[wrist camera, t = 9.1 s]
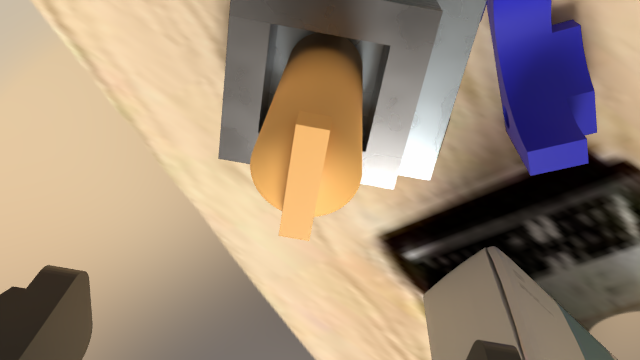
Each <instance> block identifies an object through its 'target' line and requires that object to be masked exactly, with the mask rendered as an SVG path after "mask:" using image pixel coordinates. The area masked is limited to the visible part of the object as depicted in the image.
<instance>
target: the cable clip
mask: <svg viewBox="0 0 640 360" xmlns="http://www.w3.org/2000/svg"><path fill="white" fill-rule="evenodd" d="M487 10H488V16H489V23H490V29H491V36H492V42H493V49H494V55H495V62H496V68H497V75H498V81H499V88H500V94H501V101H502V107H503V114H504V120H505V127H506V132H507V133H508V135H509V137H510V139H511V141H512V143H513V144H514V146H515V148H516V150H517V152H518V154H519V155H520V157H521V159H522V161H523V163H524V165H525V166H526V168H527V170H528V172H529V174H530V176H532V175H537V174H541V173H546V172H550V171H555V170H560V169H564V168H569V167H573V166H578V165H582V164H587V163H588V150H587V139H586V137H585V136H584V135H588V134H593V133H597V124H596V108H595V92H594V88H593V85H592V82H591V79H590V75H589V72H588V68H587V64H586V59H585V54H584V49H583V42H582V34H581V25H580V24H578V23H577V22H575V21H574V20H569V21H565V22H562V23H558V24H554V25H552V23H551V0H487Z"/></svg>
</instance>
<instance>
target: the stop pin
mask: <svg viewBox="0 0 640 360" xmlns="http://www.w3.org/2000/svg"><path fill="white" fill-rule="evenodd" d="M362 91H363V66H362V60H361V56H360V54H359V52H358V50H357V48H356V47H355V46H354V45H353V43H352V42H350V41H349V40H348V39H347V38H345V37H341V36H335V35H330V34H324V33H319V32H316V33H313V34H310V35H308V36H306V37H304V38H303V39H301V40H300V41H299V42H298V43H297V44H296V45H295V47H294V48H293V50H292V52H291V54H290V57H289V59H288V62H287V64H286V67H285V69H284V72H283V74H282V77H281V80H280V82H279V85H278V87H277V90H276V92H275V95H274V98H273V100H272V103H271V105H270V108H269V110H268V113H267V115H266V118H265V121H264V123H263V126H262V128H261V131H260V133H259V136H258V139H257V141H256V144H255V146H254V149H253V152H252V155H251V160H250V169H251V175H252V179H253V182H254V184H255V186H256V188H257V190H258V191H259V193H260V194H261V195H262V196H263V197H264V198H265V199H266V201H268V202H269V203H270V204H271V205H273V206H274V207H276V208H277V209H279V210H281V211H282V217H281V224H280V230H279V236H283V237H289V238H295V239H300V240H306V241H309V239H310V234H311V229H312V223H313V218H314V217H316V216H322V215H326V214H329V213H332V212H334V211H336V210H338V209H340V208H341V207H343V206H344V205H345V204H347V203H348V202H349V201H350V200H351V199H352V198H353V196H354V195H355V193H356V192H357V190H358V188H359V185H360V182H361V178H362Z"/></svg>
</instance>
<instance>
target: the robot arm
mask: <svg viewBox="0 0 640 360" xmlns="http://www.w3.org/2000/svg"><path fill="white" fill-rule="evenodd" d="M91 333H92V311H91V299H90V285H89V276H88V274H87V272H85V271H80V270H74V269H68V268H62V267H56V266H50V265H48V266H45V267H44V268H43V269H42V270H41V271H40V272H39V273H38V274H37V276H36V277H35V278H34V280H33V281H32V282H31V283H30V284H29V286H28V287H27V288H26V289H25V288H19V287H11V288H10V289H8V290H7V291H5V292H4V293H2V294H0V360H82V358H83V357H84V354H85V352H86V350H87V347H88V345H89V342H90V338H91ZM466 360H521V358H520V355H519V352H518V350H517V348H516V347H515V346H513V345H507V344H501V343H495V342H489V341H483V340H476V341H475V342H474V343H473V345H472V347H471V350H470V352H469V354H468V356H467V359H466Z"/></svg>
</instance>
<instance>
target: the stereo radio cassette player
mask: <svg viewBox="0 0 640 360" xmlns="http://www.w3.org/2000/svg"><path fill="white" fill-rule="evenodd" d="M423 300H424V307H425V314H426V321H427V328H428V336H429V343H430V350H431V357H432V360H466V359H467V356H468V354H469V352H470V350H471V347H472V345H473V343H474V342H475V341H476V340H483V341H489V342H495V343H501V344H507V345H513V346H515V347H516V348H517V350H518V352H519V355H520V358H521V360H618V359H616V358H615V357H614V356H613V355H612V354H611V353H610V352H609V351H608V350H607V349H606V348H605V347H604V346H603V345H602V344H600V343H599V342H598V341H597V340H596V339H595V338H594V337H593V336H592V335H591V334H590V333H589V332H588V331H587V330H586V329H584V328H583V327H582V326H581V325H580V324H579V323H578V322H577V321H576V320H575V319H574V318H573V317H572V316H571V315H570V314H569V313H567V312H566V311H565V310H564V309H563V308H562V307H561V306H560V305H559V304H558V303H557V302H556V301H555V300H554V299H553V298H551V297H550V296H549V295H548V294H547V293H546V292H545V291H544V290H543V289H542V288H541V287H540V286H539V285H538V284H537V283H536V282H534V281H533V280H532V279H531V278H530V277H529V276H528V275H527V274H526V273H525V272H524V271H523V270H522V269H521V268H520V267H518V266H517V265H516V264H515V263H514V262H513V261H512V260H511V259H510V258H509V257H508V256H506V255H505V254H504V253H503V252H502V251H501V250H499V249H498V248H496V247H494V246H491V247H488V249H487V248H486V247H485V248H483V249H482V250H481V251H479V252H478V253H476V254H475V255H473V256H472V257H470V258H469V259H467V260H466V261H464V262H463V263H461V264H460V265H459V266H457V267H456V268H455V269H453V270H452V271H451V272H449V273H448V274H447V275H446V276H444V277H443V278H442V279H441V280H440V281H439V282H437V283H436V284H435V285H434V286H433V287H432V288H431V289H429V290H428V291H427V292H426V293H425V294H424V297H423Z"/></svg>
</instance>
